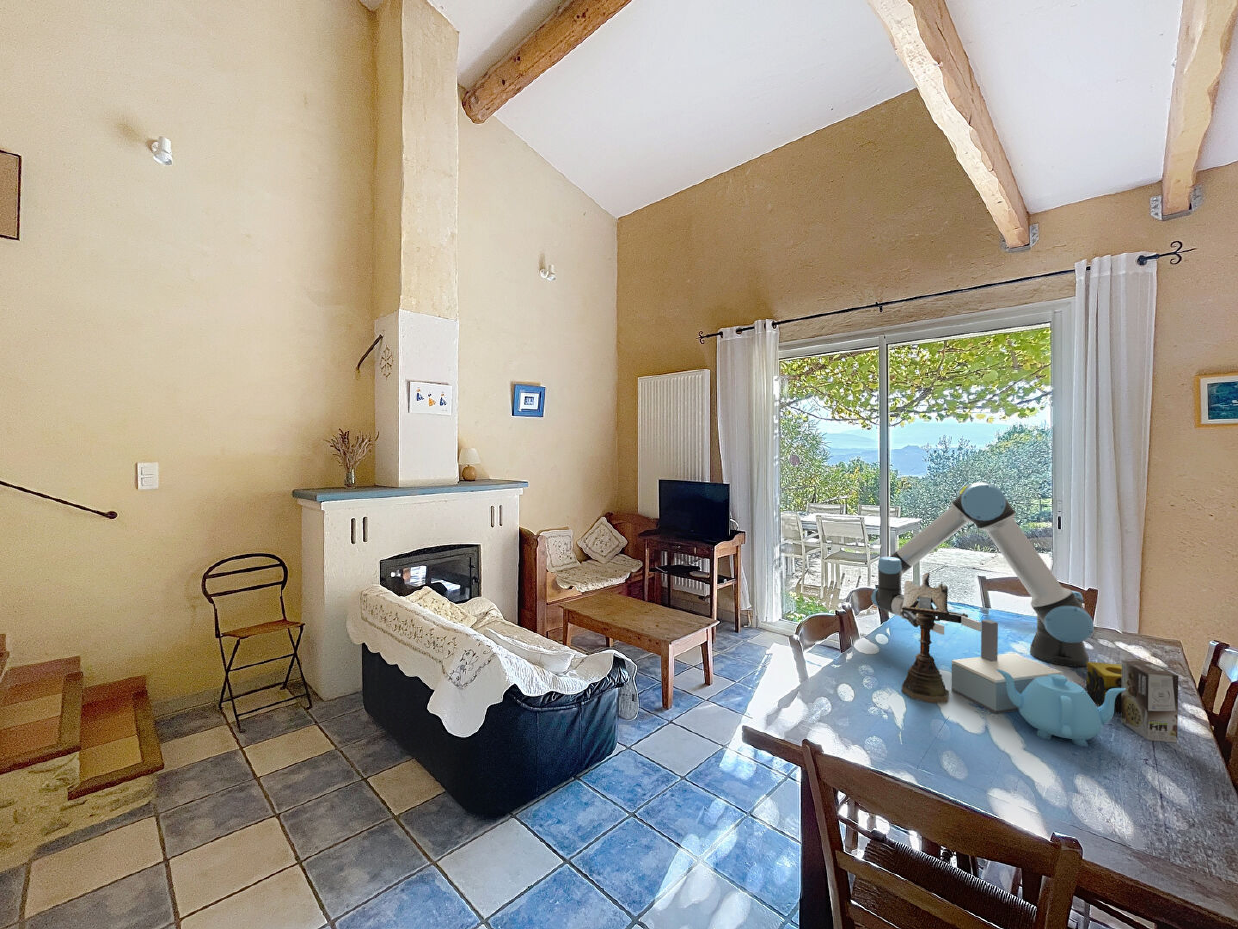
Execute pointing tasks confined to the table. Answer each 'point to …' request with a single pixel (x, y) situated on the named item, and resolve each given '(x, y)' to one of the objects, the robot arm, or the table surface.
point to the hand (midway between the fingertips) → (962, 628)
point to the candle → (1104, 682)
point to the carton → (985, 690)
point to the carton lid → (1001, 660)
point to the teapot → (1061, 707)
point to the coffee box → (1150, 700)
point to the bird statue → (925, 641)
